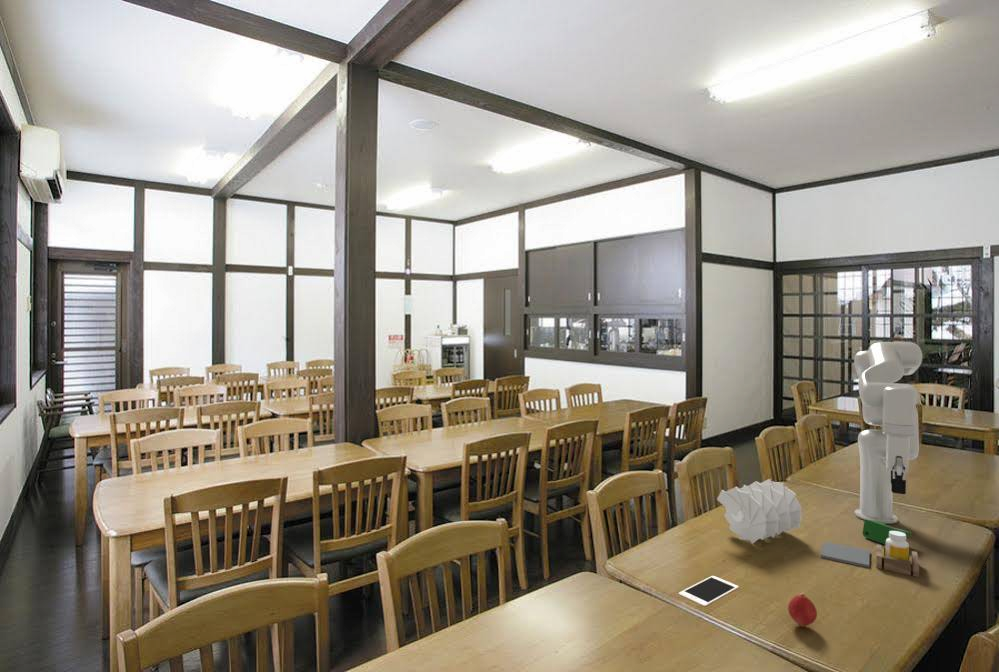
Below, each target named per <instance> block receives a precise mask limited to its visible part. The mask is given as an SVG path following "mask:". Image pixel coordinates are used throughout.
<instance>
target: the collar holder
mask: <svg viewBox="0 0 999 672" xmlns="http://www.w3.org/2000/svg"><path fill="white" fill-rule="evenodd" d="M885 552H886V545H883V552H882V545H881V544H876V559H875V560H876V561H875V562H876V569H880V570H882V569H884V571H888V572H889V571H890V572H893V573H899V574H903V575H908V576H911V574H912V576H914V577H916V578H917V577H918V578H919V577H920V562H919V555H918V551H914V550H911V560H910V559H909V560H908V561H907V560H902V559H897V558H892V557H887V556H885ZM882 556H883V557H882ZM883 559H884V560H883ZM882 561H884V563H883V562H882ZM882 563H883V564H884V565H883V564H882ZM882 565H883V566H884V567H883V568H882ZM911 568H912V569H911Z"/></svg>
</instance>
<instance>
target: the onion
mask: <svg viewBox="0 0 999 672" xmlns="http://www.w3.org/2000/svg"><path fill="white" fill-rule="evenodd" d="M787 610H788V613H789V616H790V618H791V619H792V620H793V621H794V622H795V623H796V624H797V625H798V626H800V627H801V628H805V627H808V626H809V625H811V624H813V623H815V620H816V619H817V617H818V612H817V608H816V606H815V604H814V603H813V601H812V600H811V599H810V598H809V597H807V596H806V594H805V593H804V592H801V593H800V594H797V595H795V596H793V597H792V598H791V600H790V601H789V603H788V605H787Z"/></svg>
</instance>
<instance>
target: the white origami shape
mask: <svg viewBox="0 0 999 672" xmlns="http://www.w3.org/2000/svg"><path fill="white" fill-rule="evenodd" d="M716 500H717V501H718V502H719V503H720V504H722V505H723V506H724V507H725V511H726V513H724V514H723V516H724V518H725V519H726V521H727V522H728V523H729V524H728V525H729V528H728V529H729V530H730V531H731V532H733V533H734V534H736V535H737V536H738V538H739V540H740V541H749V542H750V544H754V543H756V542H757V541H758V540H761V541H763V540H766V539H768V538H770V537H772V538H773V539H775V536H776V534H777V536H779V535H781V534H782V533H783V532H784V531H786V532H787V533H788V532H790V531H791V530H793V529H794V528H798V529H799V528H800V524H801V523H802V518H803V517H802V510H803V506H802V505H801V503H800V502H799V500H798V498H797V494H796V493H795V492H794V491H793V490H792V489H789V487H787V486H786V485H785V483H784V482H778V481H772V480H771V478H768V479H766V480H764V481H762V482H759V481H757V480H755V481H754V482H752V483H751V484H749V485H746V484H743V486H742V487H738V486H735V487H733V488H730V489H727V490H726V491H725V490H724V489H721V490H720V493H719V494H718V496H717V498H716Z"/></svg>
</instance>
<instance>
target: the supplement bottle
mask: <svg viewBox="0 0 999 672" xmlns="http://www.w3.org/2000/svg"><path fill="white" fill-rule="evenodd" d="M889 537H890V538H887V539H886V545H885V546H886V552H885V556H887V557H892V558H897V559H902V560H907V561H908V560H909V561H910V545H909V543H908V542H907V537H906V534H905V533H902V532H899V531H889Z"/></svg>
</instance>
